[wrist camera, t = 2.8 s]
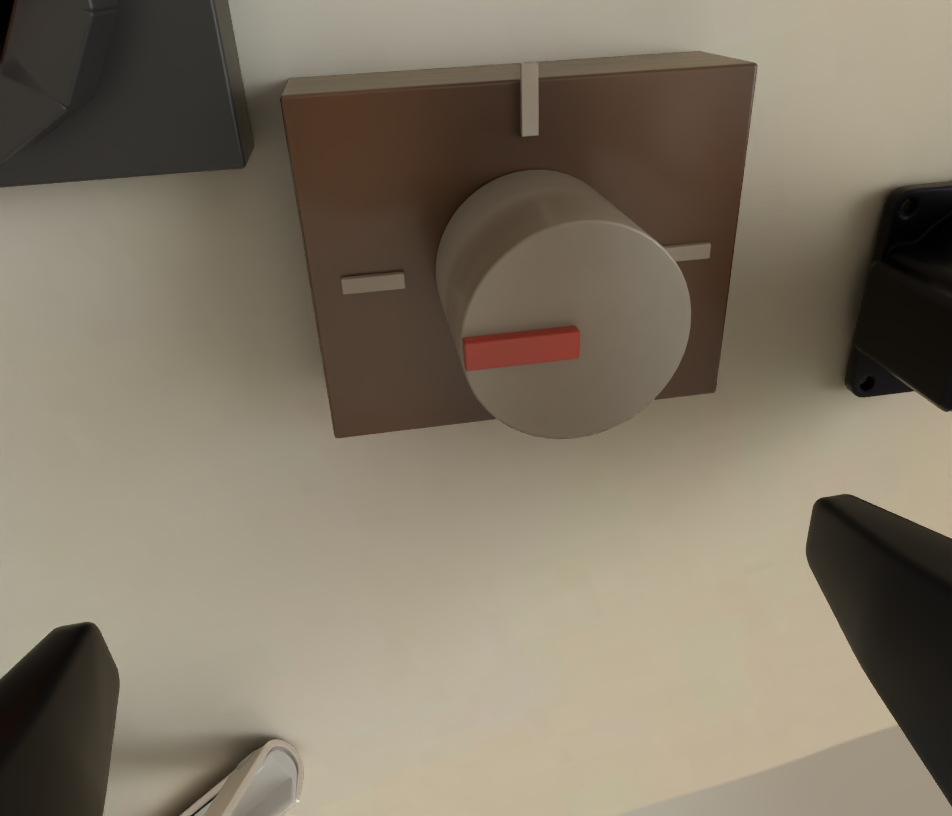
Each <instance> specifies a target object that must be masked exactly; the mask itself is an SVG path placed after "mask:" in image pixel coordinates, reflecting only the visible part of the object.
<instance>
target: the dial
mask: <svg viewBox="0 0 952 816" xmlns="http://www.w3.org/2000/svg"><path fill="white" fill-rule="evenodd" d="M436 283H437V290H438V293H439V297H440V300H441V303H442V306H443V309H444V312H445V315H446V319H447V322H448V325H449V328H450V331H451V334H452V337H453V340H454V343H455V346H456V349H457V352H458V355H459V359H460V362H461V365H462V368H463V371H464V374H465V377H466V379H467V381H468V384H469V386H470V388H471V390H472V392H473V393H474V395H475V396H476V398H477V399H478V401H479V402H480V403H481V404H482V405H483V406H484V408H485V409H486V410H487V411H488V412H489V413H491V414H492V415H493V416H494V417H495V418H497V419H498V420H499V421H501V422H503V423H504V424H506V425H507V426H509V427H511V428H514V429H516V430H518V431H520V432H523V433H526V434H529V435H533V436H537V437H543V438H553V439H568V438H578V437H583V436H589V435H592V434H596V433H599V432H603V431H605V430H608V429H610V428H612V427H615V426H617V425H619V424H621V423H622V422H624V421H626V420H628V419H630V418H631V417H632V416H634V415H635V414H637V413H638V412H640V411H641V410H642V409H643V408H645V407H646V406H647V405H648V404H649V403H650V402H652V401H653V400H654V399H655V397H656V396H657V395H658V394H659V393H660V392H661V391H662V390H663V389H664V387H665V386H666V385H667V383H668V382H669V381H670V379H671V378H672V376H673V374H674V373H675V371H676V369H677V368H678V366H679V364H680V361H681V359H682V357H683V355H684V352H685V349H686V345H687V342H688V338H689V332H690V327H691V304H690V296H689V292H688V288H687V284H686V281H685V279H684V276H683V274H682V272H681V270H680V268H679V266H678V265H677V263H676V262H675V260H674V258H673V257H672V256H671V255H670V254H669V253H668V251H667V250H666V249H665V248H664V247H663V246H662V245H661V244H659V243H658V242H657V241H656V240H655V239H654V238H652V237H651V236H650V235H649V234H648V233H646V232H645V231H644V230H643V229H641V228H640V227H639V226H638V225H637V224H635V223H634V222H633V221H632V220H631V219H629V218H628V217H627V216H626V215H624V214H623V213H622V212H621V211H620V210H618V209H617V208H616V207H615V206H614V205H612V204H611V203H610V202H609V201H608V200H606V199H605V198H604V197H603V196H601V195H600V194H599V193H598V192H597V191H595V190H594V189H593V188H592V187H591V186H589V185H588V184H586V183H584V182H583V181H581V180H579V179H577V178H575V177H573V176H570V175H568V174H564V173H561V172H557V171H550V170H526V171H519V172H515V173H511V174H508V175H504V176H502V177H500V178H497V179H495V180H493V181H491V182H489V183H488V184H486V185H484V186H483V187H481V188H480V189H478V190H477V191H476V192H474V193H473V194H472V195H471V196H469V197H468V198H467V200H466V201H465V202H464V203H463V204H462V205H461V206H460V207H459V208H458V209H457V211H456V212H455V213H454V215H453V216H452V218H451V219H450V221H449V223H448V225H447V226H446V228H445V231H444V233H443V235H442V238H441V240H440V244H439V248H438V251H437V258H436Z"/></svg>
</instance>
